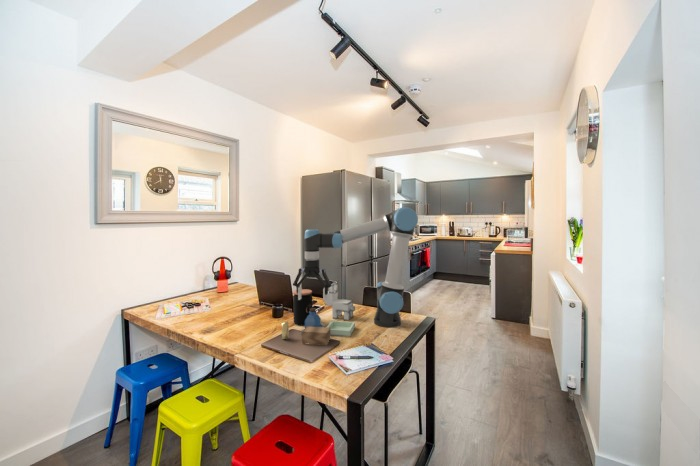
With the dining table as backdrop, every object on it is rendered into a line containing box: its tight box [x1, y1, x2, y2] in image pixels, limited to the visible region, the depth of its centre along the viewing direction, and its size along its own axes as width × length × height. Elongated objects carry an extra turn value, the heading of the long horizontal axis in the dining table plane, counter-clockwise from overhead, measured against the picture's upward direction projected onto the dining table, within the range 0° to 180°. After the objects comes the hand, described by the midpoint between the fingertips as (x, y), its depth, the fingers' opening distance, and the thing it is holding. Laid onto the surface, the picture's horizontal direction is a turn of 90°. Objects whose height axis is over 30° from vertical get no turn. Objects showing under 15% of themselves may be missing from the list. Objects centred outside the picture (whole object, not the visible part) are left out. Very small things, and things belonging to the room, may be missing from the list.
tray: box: [326, 320, 356, 338], centre depth 153 cm, size 13×13×3 cm
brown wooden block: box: [301, 326, 331, 346], centre depth 140 cm, size 12×7×6 cm, turn 81°
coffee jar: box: [292, 288, 313, 327], centre depth 167 cm, size 11×11×18 cm
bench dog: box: [281, 321, 290, 340], centre depth 144 cm, size 3×3×8 cm
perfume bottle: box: [304, 307, 322, 329], centre depth 153 cm, size 6×6×12 cm
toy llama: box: [324, 282, 356, 322], centre depth 176 cm, size 8×18×20 cm, turn 66°
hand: (312, 300), depth 153 cm, fingers open, 13 cm apart
